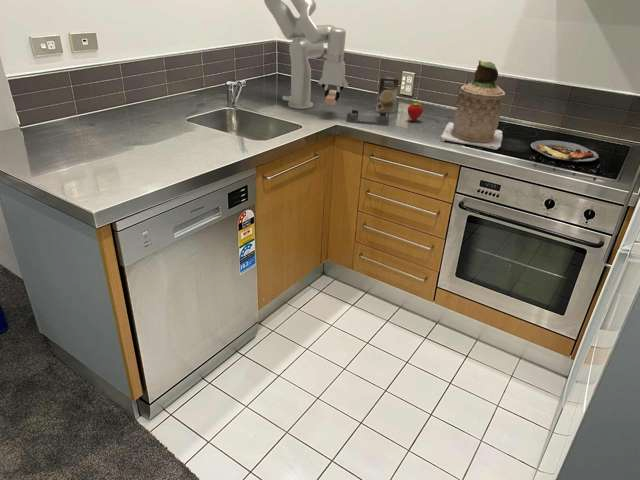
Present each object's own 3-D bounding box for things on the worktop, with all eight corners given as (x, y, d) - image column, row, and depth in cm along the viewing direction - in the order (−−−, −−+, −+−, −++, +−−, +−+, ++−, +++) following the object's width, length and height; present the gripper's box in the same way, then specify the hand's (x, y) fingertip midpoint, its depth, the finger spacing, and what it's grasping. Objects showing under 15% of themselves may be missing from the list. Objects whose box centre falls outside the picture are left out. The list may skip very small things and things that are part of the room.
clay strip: (325, 104, 220) (325, 97, 219) (329, 96, 232) (330, 89, 231) (333, 105, 220) (334, 98, 218) (338, 97, 232) (338, 90, 230)
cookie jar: (500, 151, 197) (520, 69, 180) (439, 142, 203) (452, 61, 187) (502, 134, 217) (520, 58, 201) (447, 126, 224) (460, 52, 208)
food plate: (610, 163, 189) (613, 155, 187) (560, 168, 183) (563, 159, 181) (565, 144, 210) (567, 136, 208) (519, 147, 204) (520, 139, 202)
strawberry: (403, 119, 229) (406, 98, 224) (417, 118, 231) (420, 97, 226) (409, 123, 224) (412, 101, 219) (423, 122, 227) (427, 100, 222)
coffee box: (376, 111, 239) (379, 78, 231) (376, 108, 245) (379, 75, 236) (394, 113, 238) (398, 79, 230) (394, 109, 244) (398, 76, 236)
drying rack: (346, 121, 222) (346, 114, 220) (348, 115, 231) (349, 108, 229) (387, 125, 220) (388, 118, 218) (388, 119, 228) (389, 112, 227)
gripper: (315, 57, 214) (312, 99, 224) (352, 61, 212) (348, 103, 222) (318, 54, 220) (315, 95, 230) (354, 58, 218) (350, 99, 228)
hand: (331, 99), depth 226 cm, fingers closed on clay strip, 4 cm apart
